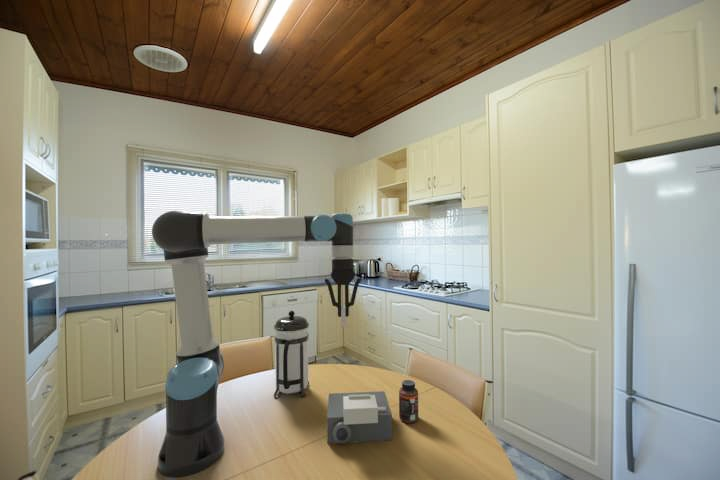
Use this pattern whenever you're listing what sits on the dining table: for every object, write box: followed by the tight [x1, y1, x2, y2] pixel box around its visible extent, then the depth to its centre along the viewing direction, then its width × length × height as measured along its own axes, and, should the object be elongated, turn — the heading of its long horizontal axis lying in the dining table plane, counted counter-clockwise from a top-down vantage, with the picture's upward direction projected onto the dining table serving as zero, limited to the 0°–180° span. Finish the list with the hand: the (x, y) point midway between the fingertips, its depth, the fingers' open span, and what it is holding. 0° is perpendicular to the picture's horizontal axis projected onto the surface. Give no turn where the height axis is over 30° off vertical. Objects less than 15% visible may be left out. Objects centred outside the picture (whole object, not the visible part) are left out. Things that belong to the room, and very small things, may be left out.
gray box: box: [326, 390, 393, 444], centre depth 92 cm, size 18×16×8 cm
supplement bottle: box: [398, 379, 419, 424], centre depth 97 cm, size 6×6×11 cm
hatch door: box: [343, 394, 378, 425], centre depth 85 cm, size 9×7×5 cm
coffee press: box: [273, 310, 310, 399], centre depth 116 cm, size 17×16×30 cm
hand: (343, 325), depth 108 cm, fingers closed
